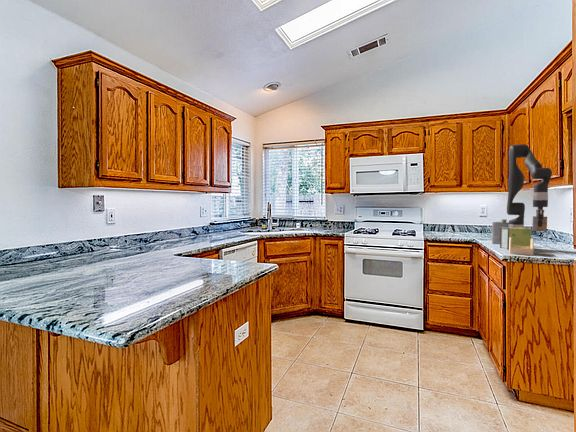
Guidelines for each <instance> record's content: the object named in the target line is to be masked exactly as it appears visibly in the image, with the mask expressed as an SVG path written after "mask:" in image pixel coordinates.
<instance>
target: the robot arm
mask: <svg viewBox="0 0 576 432" xmlns="http://www.w3.org/2000/svg"><path fill="white" fill-rule="evenodd" d="M520 158H525V159H524V166H525V167H526V168H527V169H528V171H529V173H530V176H531V178H532V179H535V180H541V181H540V182H536V183H534V185H533V195H532V207H533V208H537V209H536V210H535V213H536V214H535V215H536V216H537V217H538V227H542V221H543V217H545V216H544V215H545V214H544V213H545V209H544V208H548V207H549V192H548V191H549V183H550V181H551V178H552V176H553V171H552V169H551V168H550V167H543V165H542V163H541V162H540V161H539V160H538V159H537V158H536V157H535V155H534V153H533V151H532V150H531V148H530V147H529V146H528V144H526V143H522V144H521V143H519V144H512V145H510V146H509V149H508V167H509V168H508V169H509V170H508V185H507V186H508V187H507V188H508V189H507V190H508V191H507V203H506V213H507V215H509V216H517V217H516V218H513V219H510V220H508V223H509V228H525V209H526V205H525V203H524V202H513V201H514V199H515V198H516V196H517V194H518V193H519V192H520V191H521V190H522V188H523V187H524V184H525V175H524V173H523V171H522V170H521V169H520V167H519V166H518V164H517V159H520ZM539 217H542V218H539Z"/></svg>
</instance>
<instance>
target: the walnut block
mask: <svg viewBox="0 0 576 432" xmlns="http://www.w3.org/2000/svg"><path fill="white" fill-rule="evenodd" d="M539 218H542V217H539ZM531 226H532V228H531V231H533V232H548V216H544V217H543V221H542V227H538V217H537V216H532V225H531Z"/></svg>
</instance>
